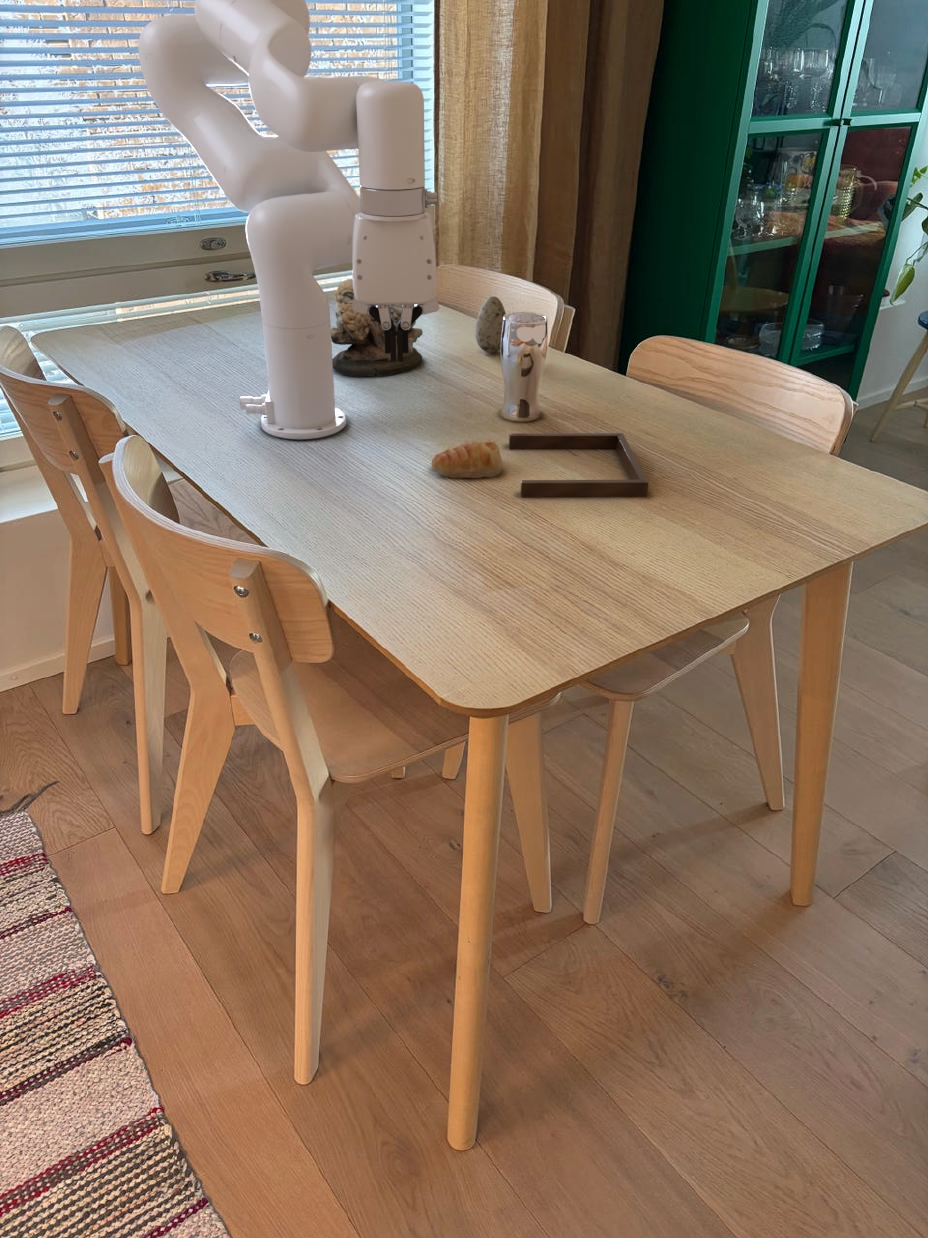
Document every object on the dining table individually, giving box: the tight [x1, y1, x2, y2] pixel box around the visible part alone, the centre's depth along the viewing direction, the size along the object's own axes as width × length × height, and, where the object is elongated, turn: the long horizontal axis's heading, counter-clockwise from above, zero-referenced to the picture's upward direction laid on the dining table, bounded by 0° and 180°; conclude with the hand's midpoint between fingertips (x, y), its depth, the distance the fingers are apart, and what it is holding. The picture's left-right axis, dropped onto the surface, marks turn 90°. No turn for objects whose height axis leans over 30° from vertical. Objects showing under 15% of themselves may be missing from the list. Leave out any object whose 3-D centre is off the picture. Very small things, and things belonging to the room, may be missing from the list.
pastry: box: [430, 439, 504, 479], centre depth 129 cm, size 9×7×4 cm
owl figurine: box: [331, 278, 424, 378], centre depth 163 cm, size 18×12×17 cm, turn 126°
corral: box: [508, 432, 649, 498], centre depth 131 cm, size 16×17×2 cm
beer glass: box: [499, 311, 548, 423], centre depth 144 cm, size 7×7×15 cm
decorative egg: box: [474, 295, 507, 354], centre depth 173 cm, size 6×6×10 cm
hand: (396, 358), depth 121 cm, fingers closed
